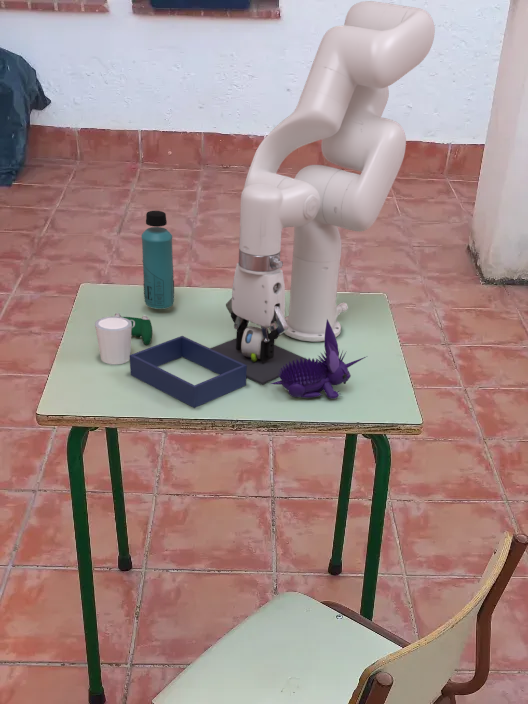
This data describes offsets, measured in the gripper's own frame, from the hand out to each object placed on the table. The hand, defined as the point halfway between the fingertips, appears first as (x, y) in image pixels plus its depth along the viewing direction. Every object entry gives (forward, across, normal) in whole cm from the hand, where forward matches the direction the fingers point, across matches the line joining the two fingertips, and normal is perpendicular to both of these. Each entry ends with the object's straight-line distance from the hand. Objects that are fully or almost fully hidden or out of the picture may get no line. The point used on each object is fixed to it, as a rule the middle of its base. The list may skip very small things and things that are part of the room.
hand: (254, 352), depth 173 cm
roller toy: (+1, 0, 0) cm, 1 cm away
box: (+2, +2, +16) cm, 16 cm away
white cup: (+2, +18, +20) cm, 27 cm away
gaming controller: (+2, +23, +12) cm, 26 cm away
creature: (+2, -17, +1) cm, 17 cm away
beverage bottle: (+2, +30, -2) cm, 30 cm away
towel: (+1, 0, 0) cm, 1 cm away
